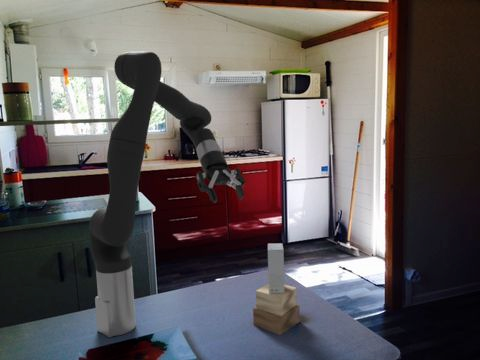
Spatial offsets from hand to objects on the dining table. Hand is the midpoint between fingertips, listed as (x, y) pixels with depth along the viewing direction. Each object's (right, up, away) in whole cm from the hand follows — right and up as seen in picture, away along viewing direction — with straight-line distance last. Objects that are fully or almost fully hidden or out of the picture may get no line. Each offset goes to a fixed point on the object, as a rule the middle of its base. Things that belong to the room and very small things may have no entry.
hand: (229, 199), depth 120 cm
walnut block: (+13, -34, -7) cm, 37 cm away
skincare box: (+13, -24, -8) cm, 29 cm away
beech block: (+13, -29, -8) cm, 33 cm away
